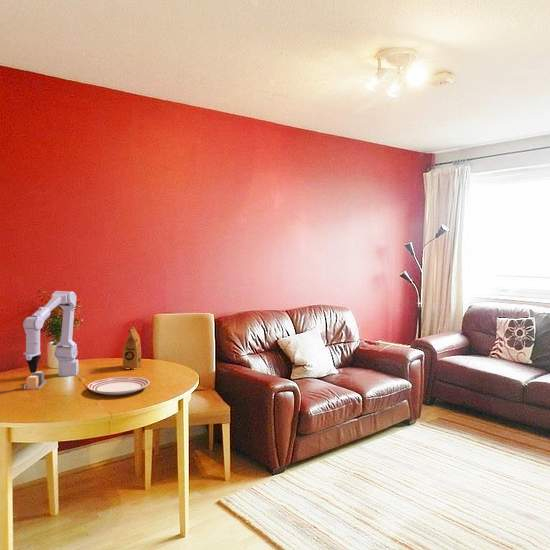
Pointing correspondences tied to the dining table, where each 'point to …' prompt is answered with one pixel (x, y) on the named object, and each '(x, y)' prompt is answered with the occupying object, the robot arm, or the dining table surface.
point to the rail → (38, 385)
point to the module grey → (39, 376)
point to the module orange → (32, 382)
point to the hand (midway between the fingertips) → (33, 372)
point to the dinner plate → (118, 385)
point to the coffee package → (132, 350)
